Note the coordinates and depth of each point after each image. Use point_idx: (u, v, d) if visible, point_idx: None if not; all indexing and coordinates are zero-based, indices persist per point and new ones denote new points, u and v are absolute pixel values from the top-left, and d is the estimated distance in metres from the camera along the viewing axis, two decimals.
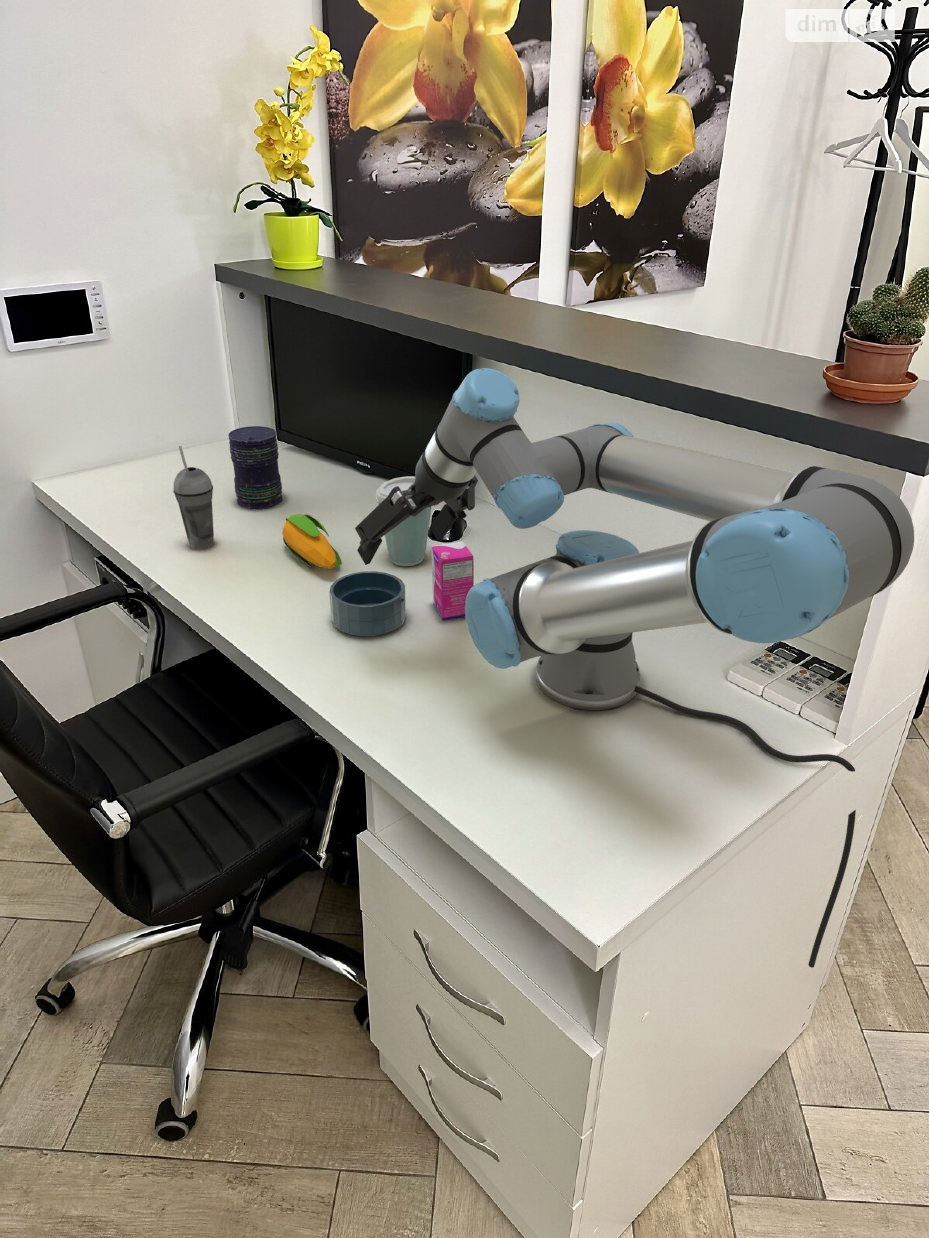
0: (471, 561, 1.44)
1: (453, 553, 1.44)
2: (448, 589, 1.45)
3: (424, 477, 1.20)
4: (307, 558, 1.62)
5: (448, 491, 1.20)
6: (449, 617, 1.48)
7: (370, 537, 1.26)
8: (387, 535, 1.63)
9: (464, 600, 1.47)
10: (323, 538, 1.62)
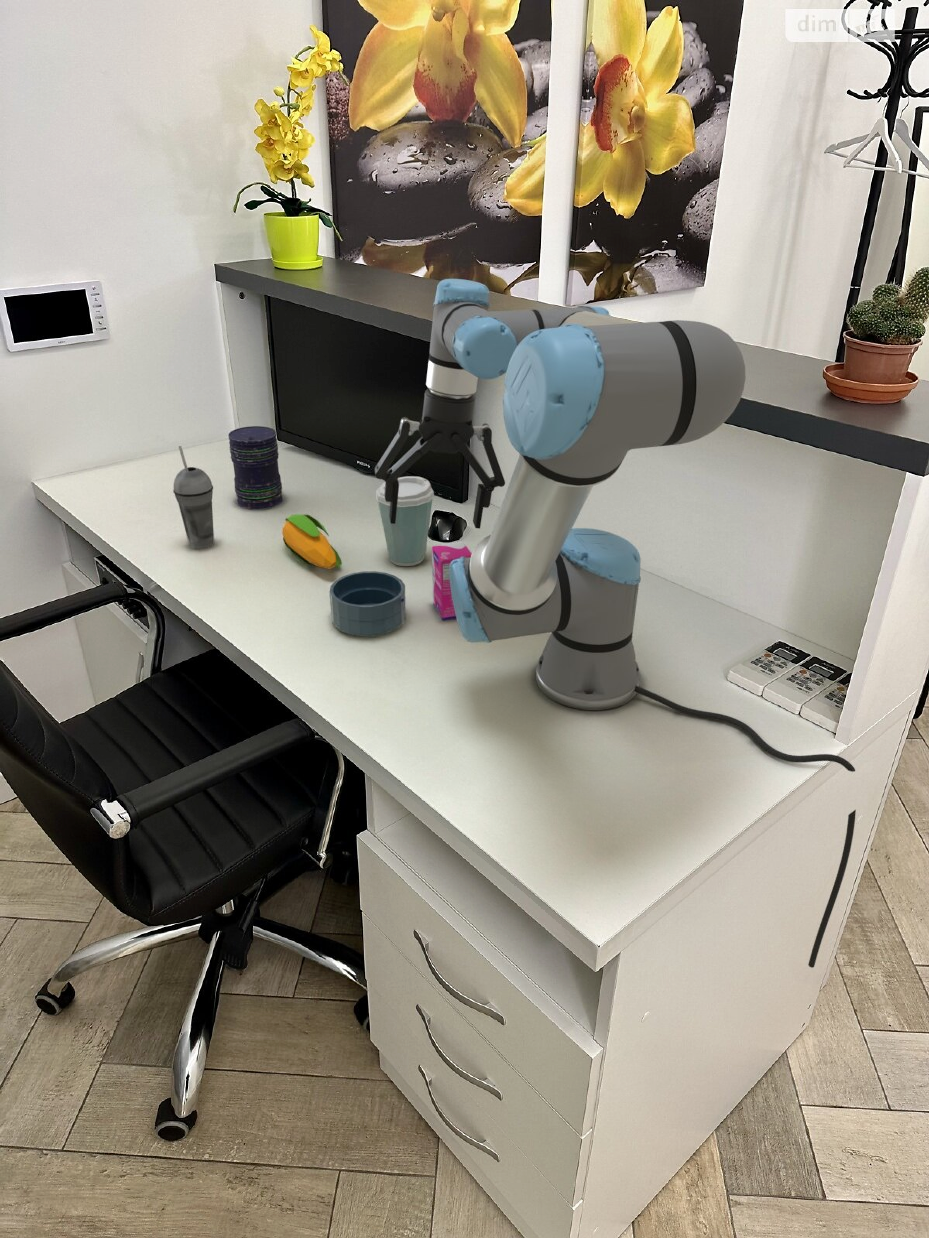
0: None
1: (453, 553, 1.44)
2: (448, 589, 1.45)
3: (424, 400, 1.31)
4: (307, 558, 1.62)
5: (441, 407, 1.29)
6: (449, 617, 1.48)
7: (382, 471, 1.35)
8: (387, 535, 1.63)
9: None
10: (323, 538, 1.62)
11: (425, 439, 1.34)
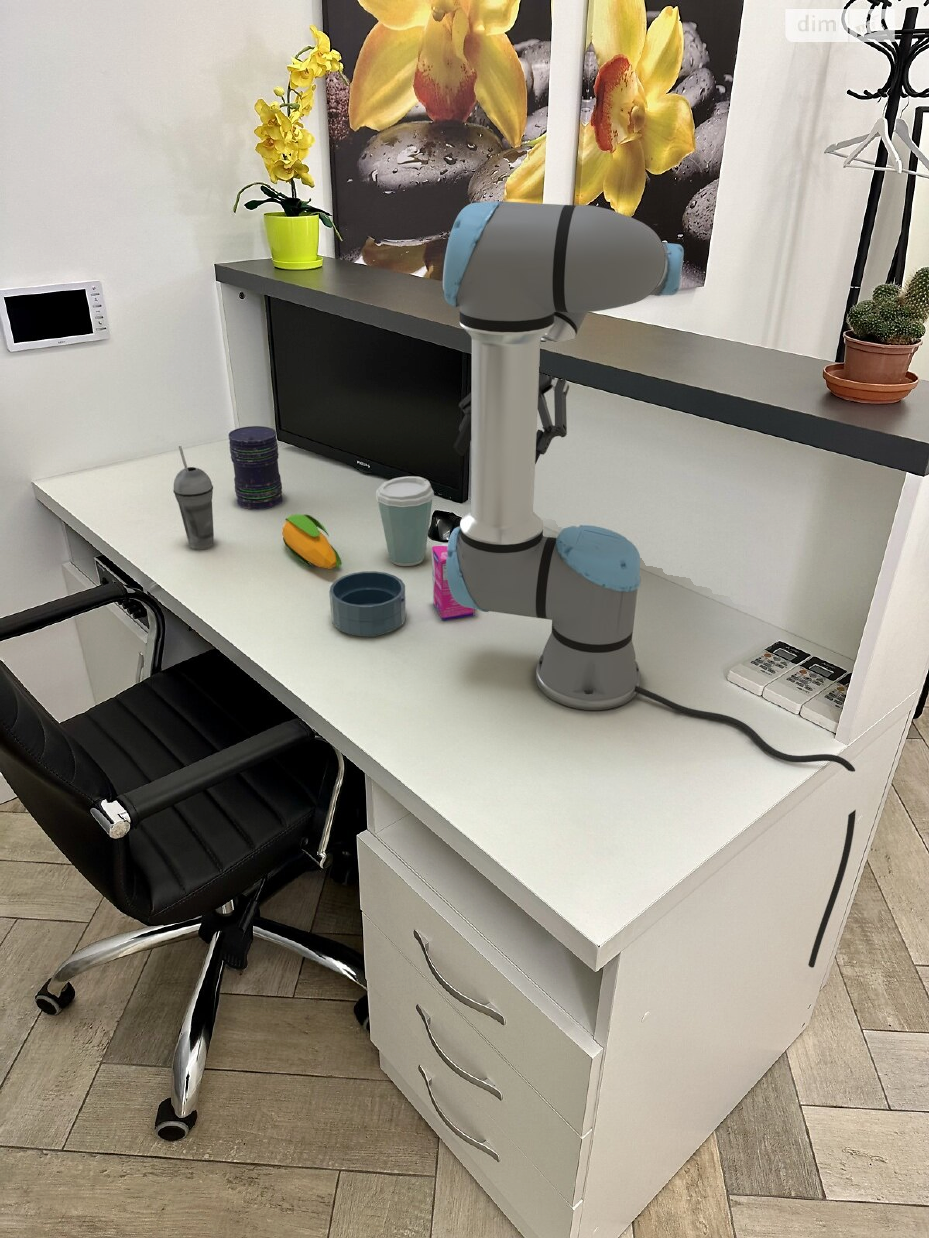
0: None
1: None
2: (448, 589, 1.45)
3: None
4: (307, 558, 1.62)
5: None
6: (449, 617, 1.48)
7: (465, 401, 1.51)
8: (387, 535, 1.63)
9: None
10: (323, 538, 1.62)
11: None
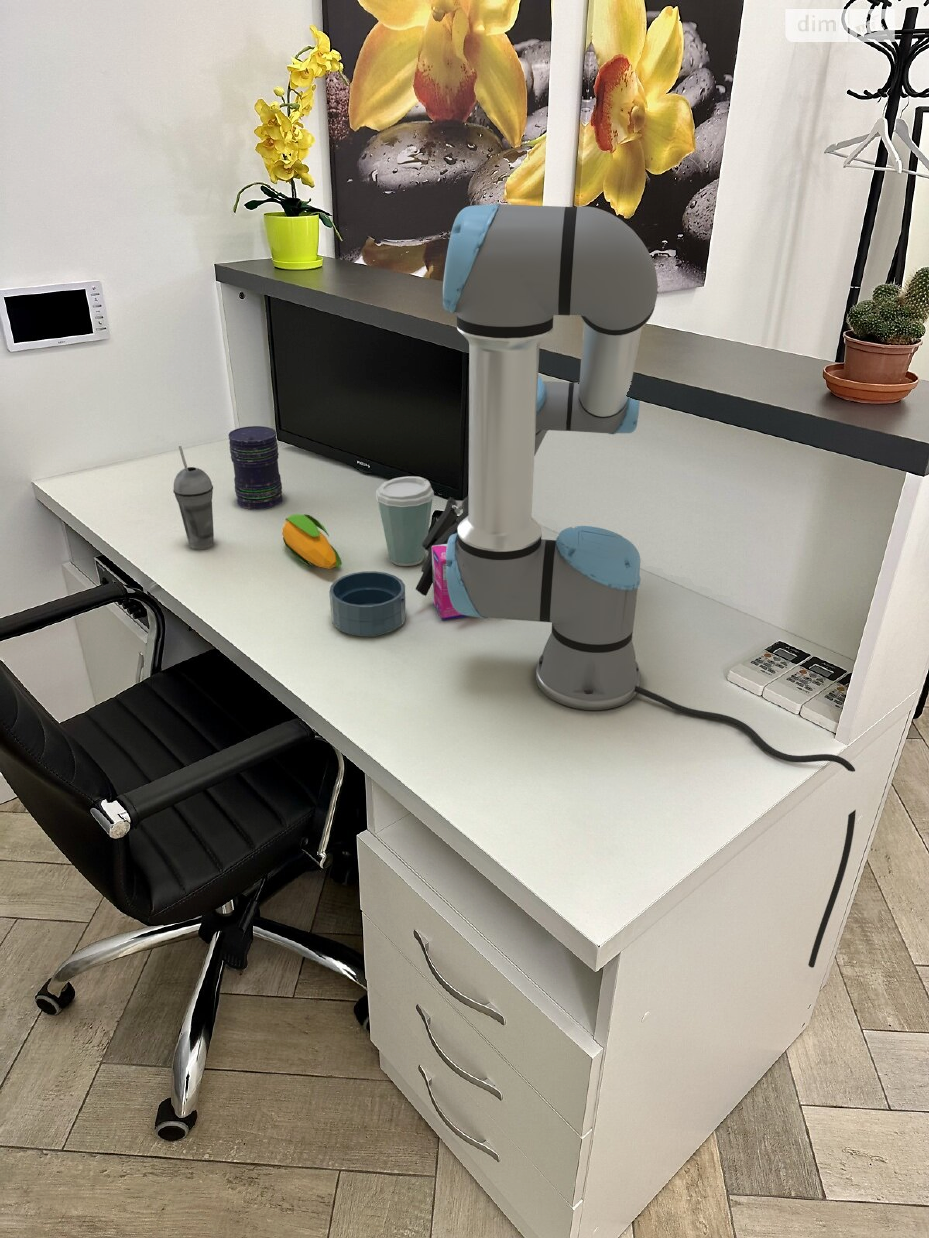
0: None
1: None
2: None
3: None
4: (307, 558, 1.62)
5: None
6: (449, 617, 1.48)
7: (428, 540, 1.50)
8: (387, 535, 1.63)
9: None
10: (323, 538, 1.62)
11: (463, 510, 1.50)
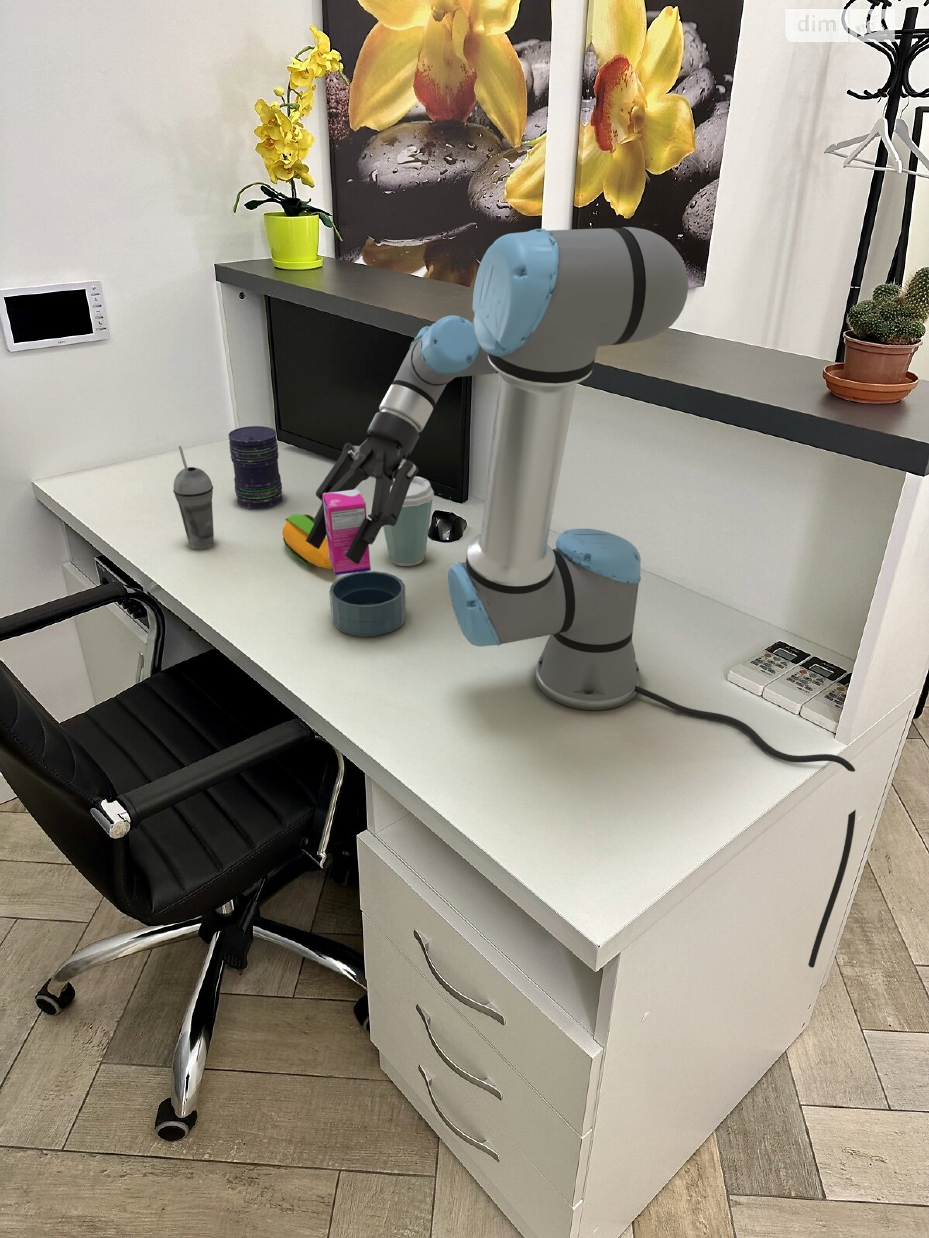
0: (363, 509, 1.32)
1: (344, 501, 1.32)
2: (339, 540, 1.33)
3: None
4: (307, 558, 1.62)
5: (375, 417, 1.35)
6: (342, 572, 1.36)
7: (322, 489, 1.38)
8: (387, 535, 1.63)
9: None
10: None
11: (360, 456, 1.37)
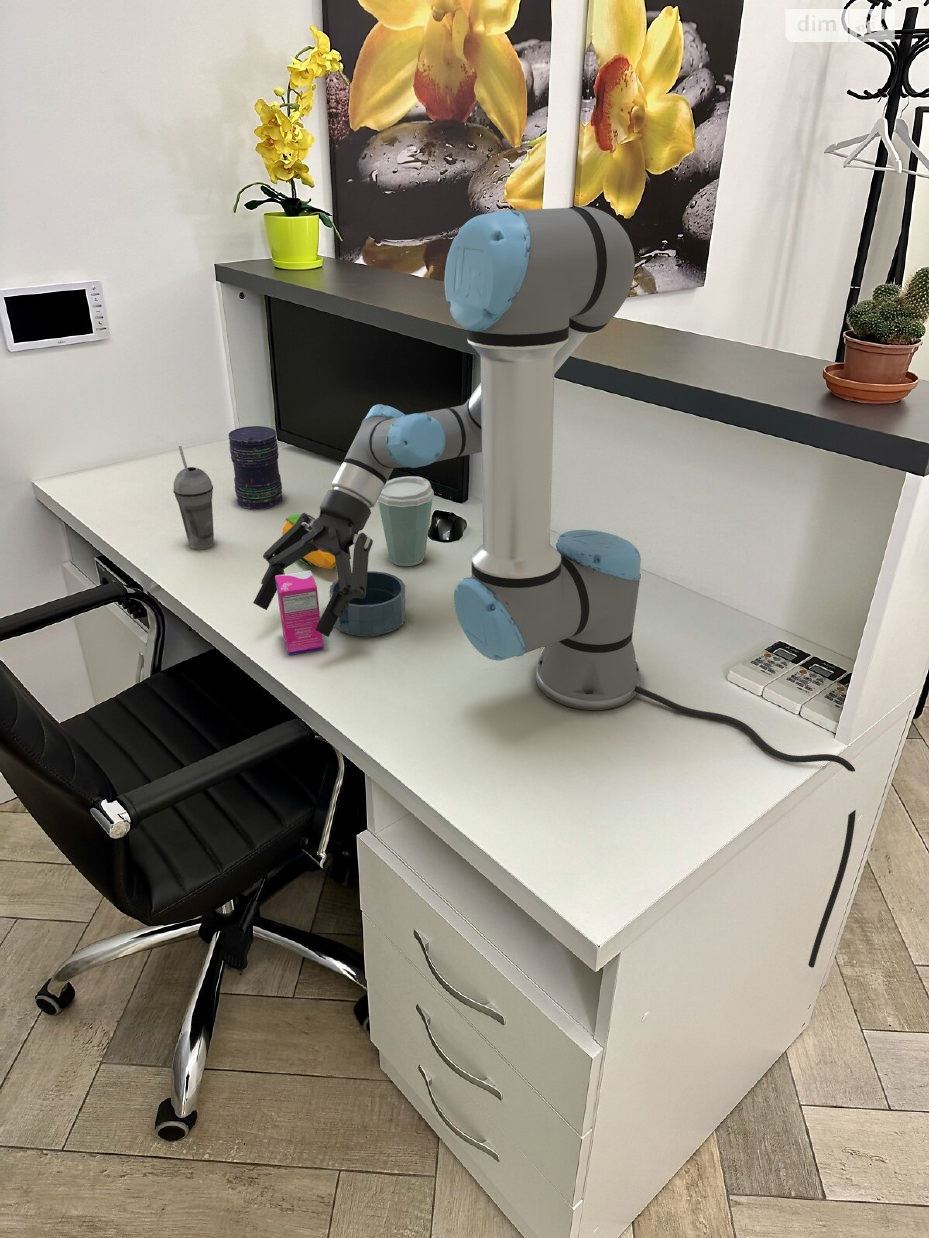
0: (314, 592, 1.34)
1: (295, 584, 1.35)
2: (291, 622, 1.36)
3: None
4: (307, 558, 1.62)
5: (327, 495, 1.38)
6: (296, 651, 1.38)
7: (269, 552, 1.42)
8: (387, 535, 1.63)
9: (311, 633, 1.38)
10: None
11: None
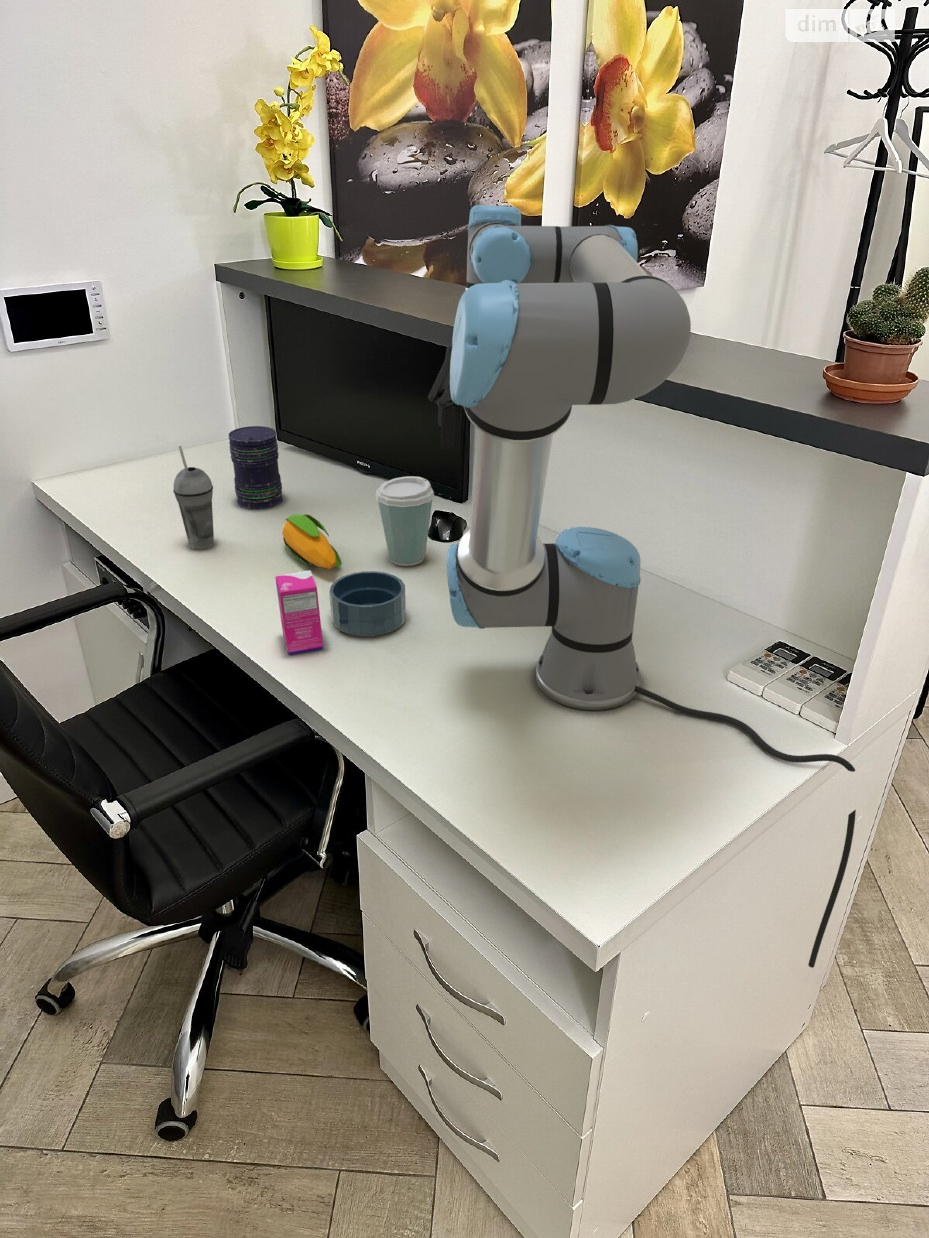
0: (314, 592, 1.34)
1: (295, 584, 1.35)
2: (291, 622, 1.36)
3: None
4: (307, 558, 1.62)
5: None
6: (296, 651, 1.38)
7: (433, 394, 1.43)
8: (387, 535, 1.63)
9: (311, 633, 1.38)
10: (323, 538, 1.62)
11: None
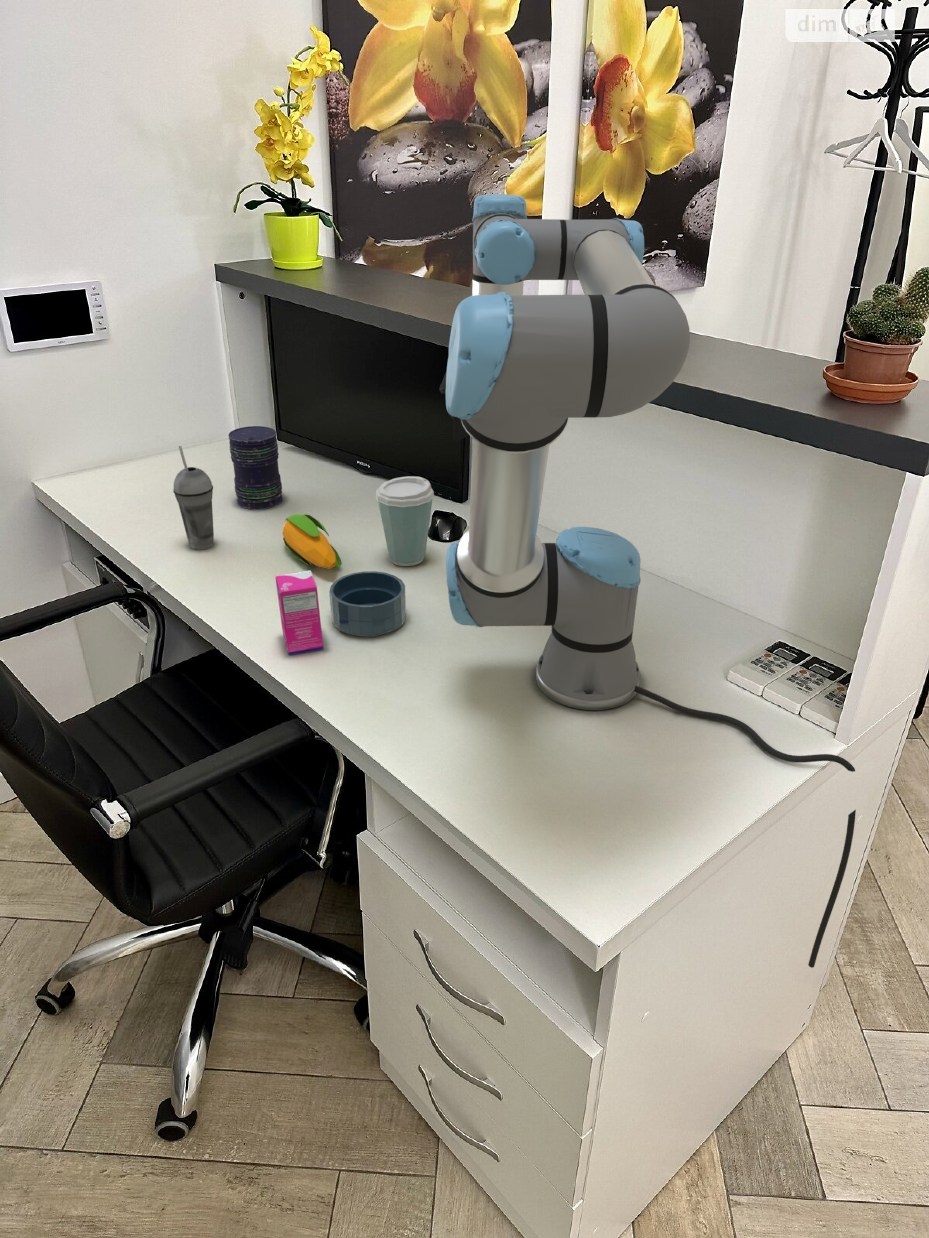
0: (314, 592, 1.34)
1: (295, 584, 1.35)
2: (291, 622, 1.36)
3: None
4: (307, 558, 1.62)
5: None
6: (296, 651, 1.38)
7: (444, 386, 1.43)
8: (387, 535, 1.63)
9: (311, 633, 1.38)
10: (323, 538, 1.62)
11: None
